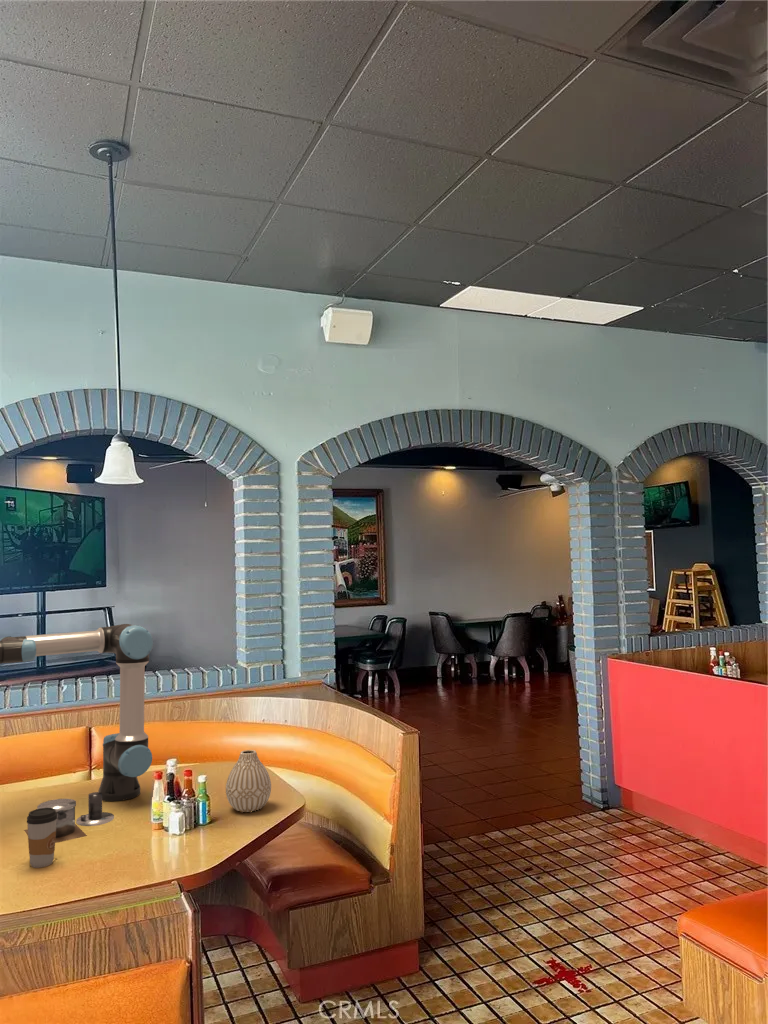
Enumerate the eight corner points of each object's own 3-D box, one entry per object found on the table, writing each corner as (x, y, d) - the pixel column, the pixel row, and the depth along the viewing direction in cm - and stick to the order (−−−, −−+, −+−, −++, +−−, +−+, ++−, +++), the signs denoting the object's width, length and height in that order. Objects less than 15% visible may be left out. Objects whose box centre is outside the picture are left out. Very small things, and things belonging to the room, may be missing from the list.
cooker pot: (32, 829, 254) (32, 801, 254) (68, 822, 261) (69, 794, 261) (43, 843, 241) (43, 814, 242) (81, 835, 248) (82, 806, 248)
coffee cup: (45, 870, 222) (45, 817, 223) (19, 868, 224) (20, 815, 225) (63, 859, 230) (63, 807, 231) (38, 857, 232) (38, 806, 233)
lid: (107, 814, 271) (107, 786, 271) (118, 823, 261) (118, 794, 262) (72, 821, 264) (72, 793, 264) (81, 831, 254) (81, 801, 255)
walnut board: (71, 822, 263) (71, 820, 263) (87, 838, 247) (87, 835, 247) (23, 832, 254) (23, 830, 254) (37, 849, 238) (37, 846, 239)
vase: (216, 813, 269) (216, 755, 270) (241, 799, 284) (241, 744, 285) (256, 818, 263) (255, 759, 264) (279, 804, 278) (279, 748, 279)
